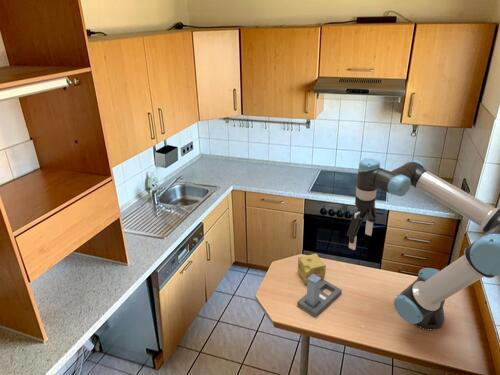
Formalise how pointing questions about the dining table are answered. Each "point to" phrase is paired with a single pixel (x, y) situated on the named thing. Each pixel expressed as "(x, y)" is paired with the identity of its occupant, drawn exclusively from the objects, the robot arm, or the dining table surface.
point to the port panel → (320, 299)
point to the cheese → (311, 267)
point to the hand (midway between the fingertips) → (360, 241)
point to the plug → (313, 290)
